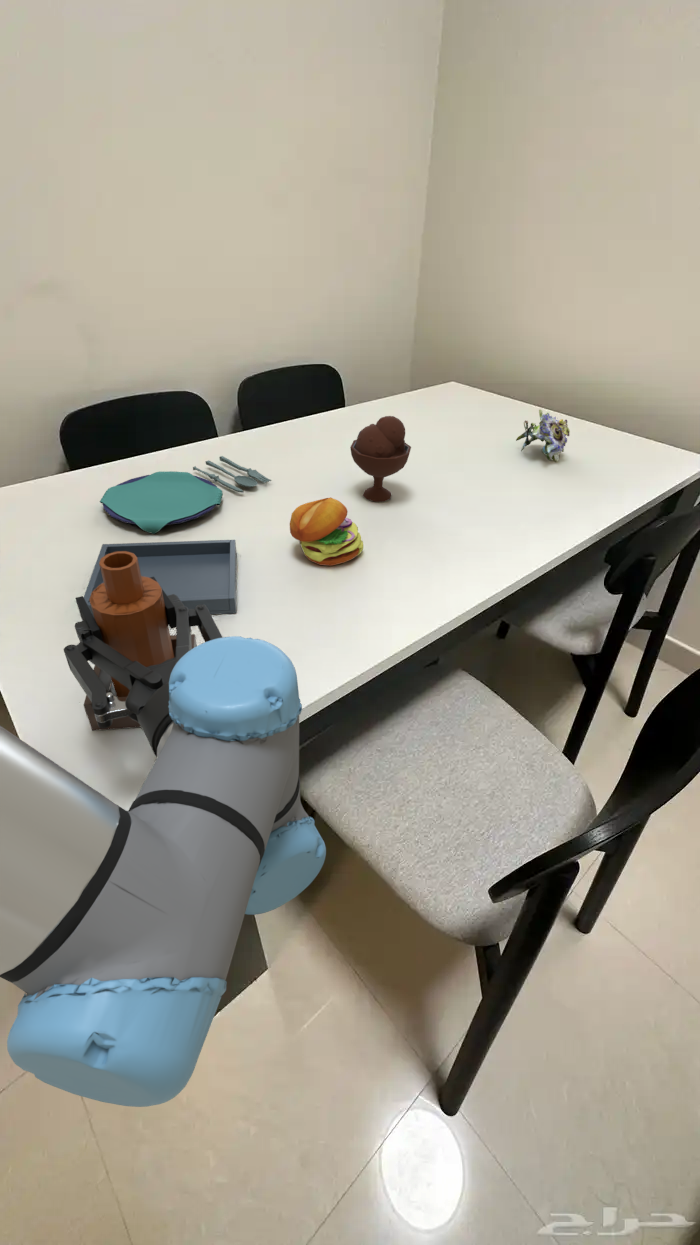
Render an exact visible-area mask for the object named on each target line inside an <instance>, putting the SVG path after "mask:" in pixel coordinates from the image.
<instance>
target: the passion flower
mask: <svg viewBox="0 0 700 1245" xmlns="http://www.w3.org/2000/svg"><path fill="white" fill-rule="evenodd" d="M538 414H539V420H540V421H539V422H538V425H536V423H535V422H531V423H530V426H529V421H528V420H524V421H523V428H524V432H523V433H522V434H520V435H518V436H517V438H516V439H515V441H517V442H518V441H520V440H521V439H525V440H524V442H523V444H522V447H521V450H520V452H522V451H523V450H524V449H525V448H526V447H527V446H530V445H531V443H532V442H534V441H537V440H540V441H541V442H542V443H543V442H545V444H544V445H543V447H542V453H543V454H544V455H545V457H546V459H547V460H549V461H550V462H551V461H553V462H555V463H557V462H558V461H559V456H560V453H561V452H565V447H566V444H567V443H568V437H570V433H571V431H570V428H569V427H568V426H569V424H568V420H567V419H563V418H561V419H560V420H559V419H556V418H557V417H556V416H552V415H550V412H549V411H547V412H546V413H543V410H542V409H538ZM529 437H530V439H529Z"/></svg>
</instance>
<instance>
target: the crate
mask: <svg viewBox="0 0 700 1245" xmlns="http://www.w3.org/2000/svg"><path fill="white" fill-rule="evenodd" d="M170 637H171V643H172V648H173V653H174V657H176V634H170ZM197 644H198V643H197V638H196V634H194V633H191V646H192V649H193V648H194V647H196V646H198V645H197ZM93 670H94V671H95V673H96V674H97V676H98V677H99V679H100V680H101V681H102V683H103V684H104V686H105V689H106V692H107V693H108V692H110V690H111V686H112V679H111V676H110V675H109V674H107V673H106V672H104V671H103V670H101V669H100V668H99V667H97V666H96V665H94V667H93ZM116 697H117V696H116ZM117 698H118V700H120V701H126V699H127V697H117ZM83 708H84V711H85V714H86V717H87V719H88V722H89V726H90V728H91V731H107V730H108V731H109V730H119V729H122V730H123V729H133V728H141V726H140V724H139V723H138V722H136V721H135V720H132V719H131V718H130V717H129V716H126V717H121V718H116V719H112V725H111V726H109V727H108V728H100V727H99V726H98V723H97V720H96V717H95V714H94V711H93V708H92V702H91V701H90V699H89V698H88V696H87V695H86V694H85V698H84V702H83Z"/></svg>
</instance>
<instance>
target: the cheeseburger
mask: <svg viewBox="0 0 700 1245" xmlns="http://www.w3.org/2000/svg"><path fill="white" fill-rule="evenodd" d="M348 513H349V512H348V508H347V507H346V505H344V504H343V503H342V502H341V501H340V500H338V499H336V498H333V497H324V498H321V499H316V500H313V501H309V502H306V503H302V504H300V505H298V506H297V507H296V508H295V509H294V510H293V511H292V512H291V514H290V515H291V516H290V519H289V520H290V521H289V533H290V535H291V537H292V538H294V539H295V540H296V541H299V544H300V547H301V549H302V551H303V554H304V556H305V557H306V558H307V559H308V560H309V561H310V562H312V563H315V564H317V565H320V566H335V565H340V564H344V563H346V562H348V561H351V560H353V559H355V558H356V557H358V556H360V554H361V553H362V551H363V550H364V542H363V539H362V535H361V533H360V532H359V527H358V526H357V524H356V523H355V522H354V521H352V519H350V518H348V517H347V516H348Z"/></svg>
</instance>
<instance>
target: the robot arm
mask: <svg viewBox="0 0 700 1245" xmlns="http://www.w3.org/2000/svg"><path fill="white" fill-rule="evenodd" d="M150 578H151V579H153V580H154V581H156V582H157V580H156V579H155V578H154V577H150ZM158 584H159V583H158ZM160 587H161V586H160ZM161 589H162V588H161ZM162 593H163V599H164V604H165V610H166V615H167V621H168V626H169V629H170V630H172V629H173V630H174V629H175V631H176V632H175V635H176V657H174V658H171V659H169V660H166V661H165V662H163V663H161V664H157V665H151V666H148V667H145V666H143V665H142V664H140V663H139V662H137V661H134V662H132V661H131V660H129V659H128V658H126V657H125V656H123V655H122V654H120V653H119V652H117V651H116V650H114V649H113V648H111V647H110V646H108V645H107V644H105V643H104V642H103V639H102V636H101V632H100V629H99V627H98V625H97V623H96V621H95V619H94V617H93V615H92V613H91V611H90V609H89V607H88V605H87V603H86V601H85V599H84V595H81V596H78V597H75V601H76V602H75V603H76V604H77V609H78V612H79V615H80V618H81V621H77V622H75V623H74V630H75V632H76V636H77V639H78V641H79V642H78V643H77V644H67V645H66V646H65V647H64V648H63V653H64V656H65V659H66V662H67V665H68V668H69V671H70V672H71V673H72V675H73V676H74V678H75V679H76V681H77V683H78V684H79V686H80V687H81V688H82V690H83V692H84V693H85V696H86V695H87V696H88V698H89V699H90V701H91V702H92V708H93V711H94V714H95V717H96V720H97V723H98V726H99V727H100V728H108V727H109V726H111V725H112V719H116V718H121V717H126V716H129V717H130V718H131V719H132V720H135V721H136V722H138V723H139V724H140V726H141V727H140V728H141V730H142V732H143V734H144V735H145V737H146V739H147V742H148V744H149V746H150V748H151V749H152V752H153V754H154V756H155V757H156V759H155V760H154V763H153V764H152V766H151V769H150V770H149V772H148V774H147V776H146V778H145V780H144V782H143V784H142V785H141V788H140V789H139V791H138V792H137V795H136V797H135V799H134V800H133V801H132V803H131V804H130V807H129V808H128V810H126V809H125V808H123V807H121V806H120V805H118V804H117V803H115V802H114V801H113V800H111V799H110V798H108V797H106V796H105V795H104V794H102V793H101V792H99V791H98V790H96V789H95V788H93V787H92V786H90V785H88V784H87V783H86V782H84V781H83V780H82V779H80V778H78V776H76V775H74V774H73V773H71V772H69V771H68V770H66V768H63V767H62V766H61V765H59V764H58V763H56V762H55V761H53V760H52V759H51V758H49V757H47V756H46V755H44V754H43V753H42V752H40V751H38V750H37V749H35V748H34V747H33V746H31V745H29V744H28V743H27V742H25V741H24V740H23V739H20V738H19V737H18V736H16V735H15V734H13V733H12V732H10V731H9V730H8V729H6V728H4V727H3V726H1V725H0V978H1V979H3V980H5V981H7V982H9V983H11V984H12V985H14V986H16V987H17V988H18V989H19V990H21V991H22V992H24V993H23V996H22V998H21V1000H20V1002H19V1003H18V1005H17V1015H16V1018H15V1019H14V1021H13V1023H12V1025H11V1028H10V1029H9V1032H8V1036H7V1040H6V1047H7V1052H8V1055H9V1057H10V1059H11V1060H12V1062H13V1063H14V1065H15V1066H17V1067H19V1068H20V1069H21V1070H22V1071H25V1072H28V1073H30V1074H33V1075H34V1077H35V1079H37V1080H39V1081H41V1082H42V1083H45V1084H46V1085H49V1086H52V1087H54V1088H57V1089H60V1090H61V1091H65V1092H67V1093H70V1094H73V1095H75V1096H78V1097H83V1098H85V1099H88V1100H89V1099H90V1100H93V1101H97V1102H100V1103H106V1104H111V1105H117V1106H122V1107H135V1108H146V1107H152V1106H157V1105H161V1104H165V1103H167V1102H170V1101H171V1100H173V1099H174V1098H176V1097H177V1096H178V1095H179V1094H180V1093H181V1092H182V1091H183V1090H184V1089H185V1088H186V1087H187V1085H188V1083H189V1081H190V1080H191V1077H192V1076H193V1073H194V1071H195V1068H196V1066H197V1063H198V1060H199V1057H200V1055H201V1052H202V1049H203V1047H204V1045H205V1041H206V1039H207V1037H208V1033H209V1031H210V1028H211V1027H212V1022H213V1020H214V1018H215V1015H216V1013H217V1009H218V1007H219V1005H220V1002H221V999H222V997H223V995H224V994H225V992H226V991H227V984H228V982H227V977H228V974H229V971H230V967H231V964H232V960H233V957H234V953H235V950H236V945H237V943H238V939H239V936H240V932H241V928H242V925H243V921H244V919H245V915H248V916H249V915H250V916H257V915H262V914H266V913H268V912H271V911H275V910H277V909H279V908H280V907H282V906H284V905H285V904H287V903H289V902H290V901H292V900H293V899H295V898H296V897H297V896H299V895H300V894H301V893H302V892H304V890H305V889H307V888H308V887H309V886H310V885H311V884H312V883H313V881H314V880H315V879H316V878H317V876H318V874H319V873H320V871H321V870H322V868H323V866H324V864H325V861H326V856H327V846H326V844H325V841H324V840H323V837H322V836H321V834H320V832H319V830H318V829H317V827H316V825H315V819H314V818H313V817H312V816H309V814H308V813H307V812H306V810H305V809H304V807H303V804H302V801H301V778H300V715H301V713H302V711H303V704H302V703H301V699H300V694H299V692H300V691H299V683H298V674H297V670H296V667H295V665H294V664H293V662H292V660H291V658H290V657H289V656H288V655H287V654H286V653H285V652H284V651H283V650H282V649H280V648H279V647H278V646H276V645H274V644H273V643H271V642H269V641H266V640H263V639H259V638H253V637H243V636H239V635H238V636H237V635H233V636H225V637H223V635H222V633H221V632H220V629H219V627H218V625H217V623H216V622H215V620H214V618H213V616H212V615H211V614H210V612H209V610H208V608H207V606H206V605H204V604H199V605H197V606H196V607H195V609H188V608H187V607H185V606H184V605H183V603H182V602H181V601H180V599H179V598H178V596H177V595H175V594H171V595H168V596H167V595H166V594H165V592H164V591H163V589H162ZM192 627H197V629H198V630H199V632H200V634H201V637H202V639H203V641H204V642H202V643H200V644H198V645H197V646H196V647H194V648H193V649H192V646H191V634H192ZM90 663H91V664H92V665H94V666H95V665H96V666H97V667H99V668H100V669H101V670H103V671H104V672H106V673H107V674H109V675H110V676H111V677H113V678H114V679H116V680H117V681H118V682H120V683H121V684H123V685H124V686H126V687H127V688H128V689H129V691H130V692H129V694H128V696H127V699H126V701H120V700H118V698H117V695H114V694H113V692H110V691H109V692H108V693H107V692H106V689H105V686H104V684H103V683H102V681H101V680H100V679H99V677H98V676H97V674H96V673H95V671H94V668H93V667H92V666H91V664H90Z"/></svg>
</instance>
